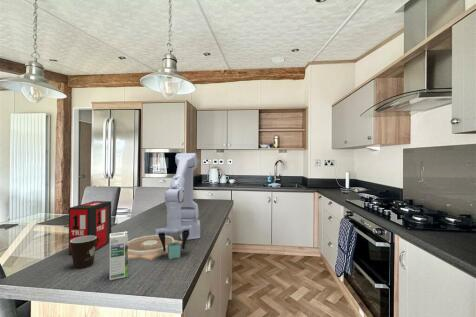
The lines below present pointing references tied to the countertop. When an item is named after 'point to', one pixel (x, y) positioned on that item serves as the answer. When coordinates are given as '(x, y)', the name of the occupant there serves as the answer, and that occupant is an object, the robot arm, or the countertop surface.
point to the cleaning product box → (91, 222)
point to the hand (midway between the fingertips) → (173, 249)
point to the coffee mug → (83, 251)
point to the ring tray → (148, 247)
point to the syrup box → (118, 255)
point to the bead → (173, 250)
